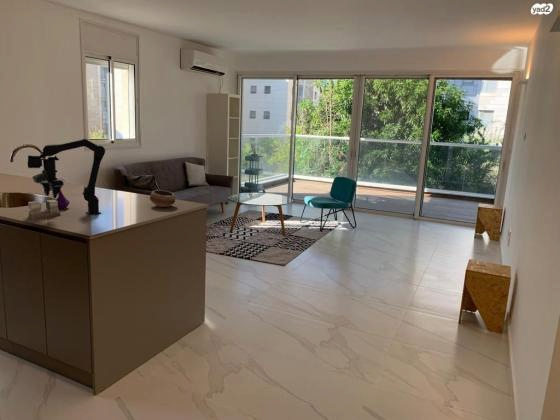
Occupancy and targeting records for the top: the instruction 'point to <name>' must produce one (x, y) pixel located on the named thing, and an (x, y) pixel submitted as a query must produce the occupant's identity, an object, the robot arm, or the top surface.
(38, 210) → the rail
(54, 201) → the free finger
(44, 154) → the robot arm
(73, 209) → the top surface
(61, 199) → the perfume bottle
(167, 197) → the bowl
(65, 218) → the top surface
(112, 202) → the top surface
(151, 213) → the top surface
